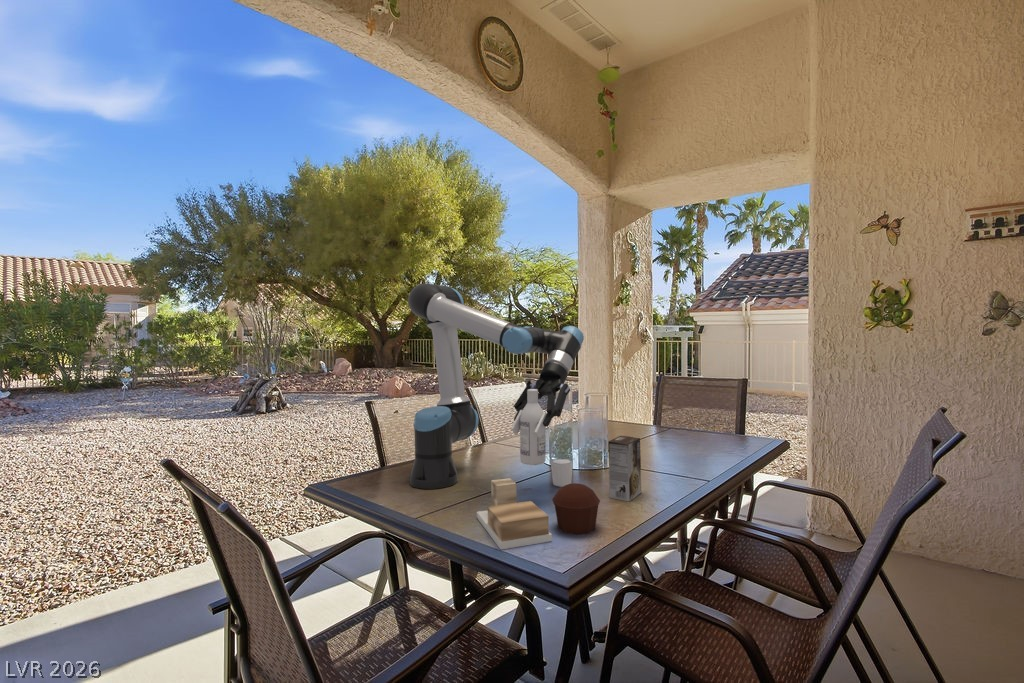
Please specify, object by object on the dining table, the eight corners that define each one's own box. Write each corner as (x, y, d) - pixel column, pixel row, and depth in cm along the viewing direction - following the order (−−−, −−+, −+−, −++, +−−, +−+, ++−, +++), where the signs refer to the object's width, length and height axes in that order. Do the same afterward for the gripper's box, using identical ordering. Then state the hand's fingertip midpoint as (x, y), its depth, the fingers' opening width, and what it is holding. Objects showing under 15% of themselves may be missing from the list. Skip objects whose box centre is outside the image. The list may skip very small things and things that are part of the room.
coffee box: (621, 489, 143) (620, 435, 143) (642, 493, 139) (641, 437, 139) (608, 497, 136) (607, 440, 136) (630, 502, 132) (629, 443, 132)
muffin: (561, 516, 123) (560, 476, 123) (604, 521, 118) (603, 480, 118) (546, 533, 112) (545, 490, 112) (593, 540, 107) (592, 495, 107)
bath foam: (544, 458, 136) (544, 388, 136) (546, 465, 129) (546, 391, 129) (520, 458, 136) (519, 388, 136) (520, 465, 129) (520, 391, 129)
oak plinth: (487, 523, 115) (487, 506, 115) (531, 517, 118) (530, 500, 118) (501, 541, 104) (501, 523, 104) (548, 533, 108) (548, 516, 108)
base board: (477, 517, 122) (476, 511, 122) (521, 511, 126) (521, 505, 126) (500, 549, 104) (500, 542, 104) (551, 541, 107) (551, 534, 107)
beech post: (491, 511, 122) (491, 480, 122) (510, 509, 124) (509, 478, 124) (497, 518, 117) (496, 485, 117) (516, 515, 119) (516, 483, 119)
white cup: (572, 480, 153) (572, 458, 153) (573, 487, 146) (573, 464, 146) (551, 480, 154) (550, 458, 154) (550, 487, 147) (550, 464, 147)
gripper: (590, 379, 139) (562, 446, 126) (533, 376, 150) (502, 437, 138) (582, 361, 134) (551, 429, 121) (523, 360, 146) (490, 421, 133)
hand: (525, 433), depth 130 cm, fingers closed on bath foam, 7 cm apart
